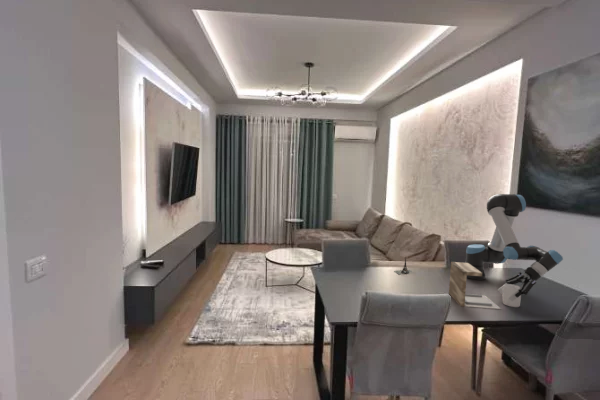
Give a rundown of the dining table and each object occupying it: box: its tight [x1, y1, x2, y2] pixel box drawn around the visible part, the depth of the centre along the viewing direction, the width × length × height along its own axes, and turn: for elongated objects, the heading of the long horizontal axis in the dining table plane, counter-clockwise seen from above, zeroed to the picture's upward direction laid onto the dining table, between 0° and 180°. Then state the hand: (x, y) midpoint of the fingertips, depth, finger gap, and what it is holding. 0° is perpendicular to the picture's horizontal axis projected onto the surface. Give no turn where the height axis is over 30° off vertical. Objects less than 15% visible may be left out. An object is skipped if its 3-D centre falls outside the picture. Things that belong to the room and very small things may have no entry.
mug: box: [501, 283, 522, 308], centre depth 186 cm, size 9×12×11 cm
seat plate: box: [464, 293, 501, 310], centre depth 188 cm, size 18×20×2 cm
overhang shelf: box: [448, 261, 482, 308], centre depth 188 cm, size 10×20×20 cm, turn 173°
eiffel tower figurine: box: [393, 256, 412, 276], centre depth 240 cm, size 15×10×13 cm
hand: (504, 295), depth 186 cm, fingers closed on mug, 12 cm apart
